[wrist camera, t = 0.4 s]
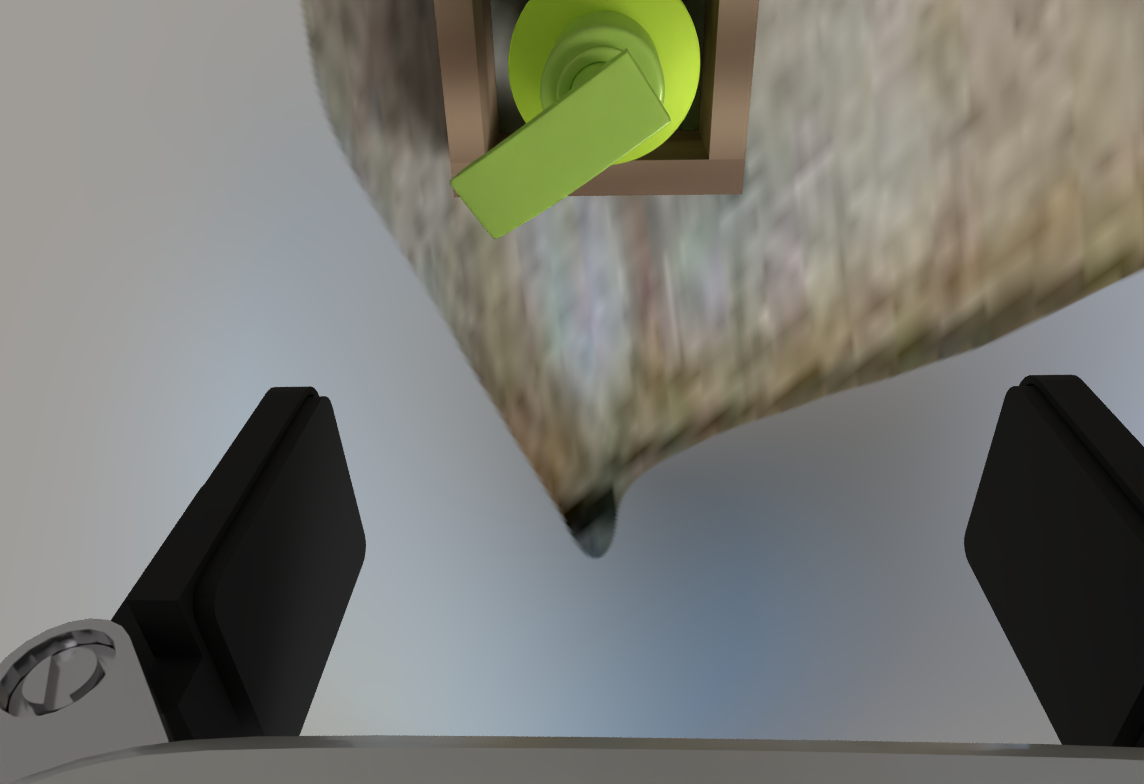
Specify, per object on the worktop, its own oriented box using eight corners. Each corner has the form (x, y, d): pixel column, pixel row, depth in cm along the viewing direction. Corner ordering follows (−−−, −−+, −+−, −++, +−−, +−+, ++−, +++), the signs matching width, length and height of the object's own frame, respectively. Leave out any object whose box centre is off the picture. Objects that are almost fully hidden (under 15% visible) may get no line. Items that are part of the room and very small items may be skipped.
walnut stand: (443, -141, 33) (417, -147, 28) (751, -151, 32) (773, -158, 28) (471, 164, 39) (454, 197, 35) (727, 161, 39) (741, 194, 34)
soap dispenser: (496, 12, 36) (389, 119, 19) (625, -93, 33) (636, -81, 16) (572, 123, 38) (538, 307, 21) (698, 32, 36) (774, 156, 19)
